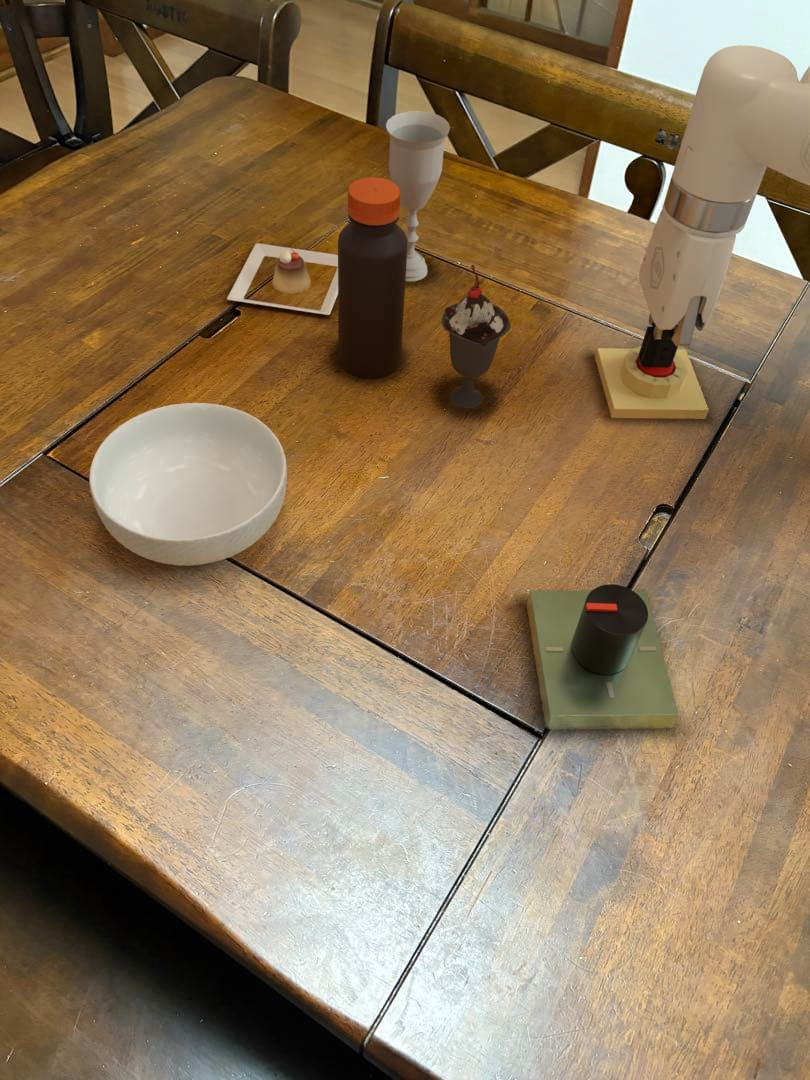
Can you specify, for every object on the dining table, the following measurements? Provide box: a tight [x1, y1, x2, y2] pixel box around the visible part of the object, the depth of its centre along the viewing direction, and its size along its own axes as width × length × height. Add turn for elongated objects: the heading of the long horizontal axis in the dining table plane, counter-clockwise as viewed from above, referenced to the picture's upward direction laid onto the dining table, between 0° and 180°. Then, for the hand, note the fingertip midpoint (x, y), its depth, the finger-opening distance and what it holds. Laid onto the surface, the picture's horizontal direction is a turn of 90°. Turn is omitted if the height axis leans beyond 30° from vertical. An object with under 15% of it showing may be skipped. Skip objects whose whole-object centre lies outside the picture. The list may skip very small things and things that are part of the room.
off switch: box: [594, 345, 710, 420], centre depth 98 cm, size 10×10×4 cm
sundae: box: [441, 264, 512, 409], centre depth 91 cm, size 7×7×15 cm
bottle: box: [337, 176, 408, 380], centre depth 92 cm, size 7×7×20 cm
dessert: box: [226, 242, 338, 316], centre depth 106 cm, size 12×12×5 cm
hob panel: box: [526, 589, 679, 730], centre depth 74 cm, size 10×12×3 cm
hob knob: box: [572, 583, 648, 675], centre depth 71 cm, size 5×5×6 cm
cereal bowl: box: [88, 402, 288, 567], centre depth 81 cm, size 17×17×7 cm
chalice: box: [385, 110, 451, 282], centre depth 104 cm, size 7×7×18 cm
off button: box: [637, 359, 673, 378], centre depth 97 cm, size 4×4×2 cm
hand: (654, 362), depth 96 cm, fingers closed
